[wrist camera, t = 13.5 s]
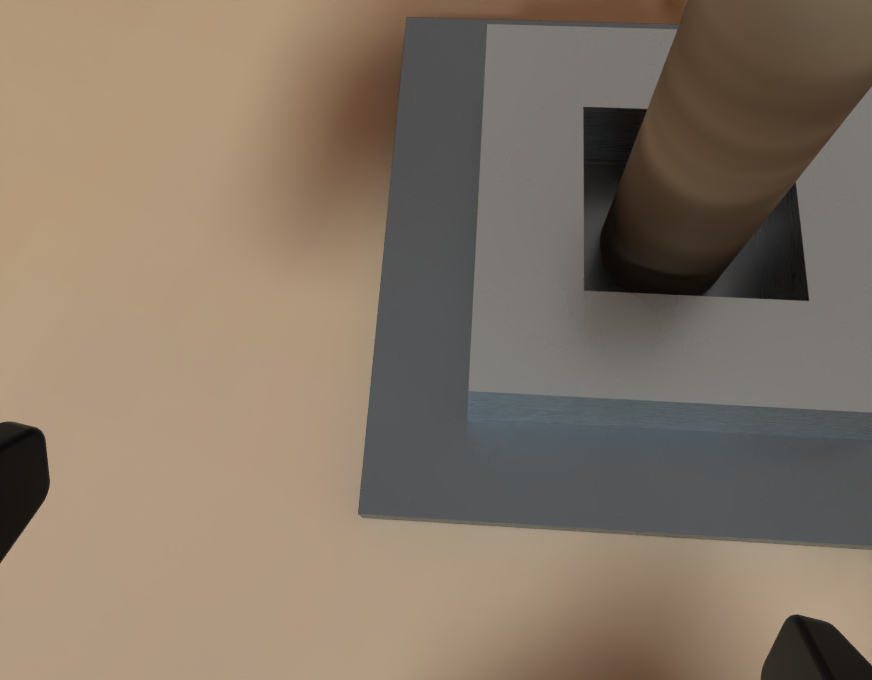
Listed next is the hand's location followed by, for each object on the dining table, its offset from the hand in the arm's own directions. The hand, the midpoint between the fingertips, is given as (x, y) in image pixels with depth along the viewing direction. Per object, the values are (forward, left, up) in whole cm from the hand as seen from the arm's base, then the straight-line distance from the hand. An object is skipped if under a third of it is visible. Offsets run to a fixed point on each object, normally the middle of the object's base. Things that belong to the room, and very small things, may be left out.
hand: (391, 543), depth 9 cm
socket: (+11, -7, -14) cm, 18 cm away
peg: (+11, -7, -13) cm, 18 cm away
